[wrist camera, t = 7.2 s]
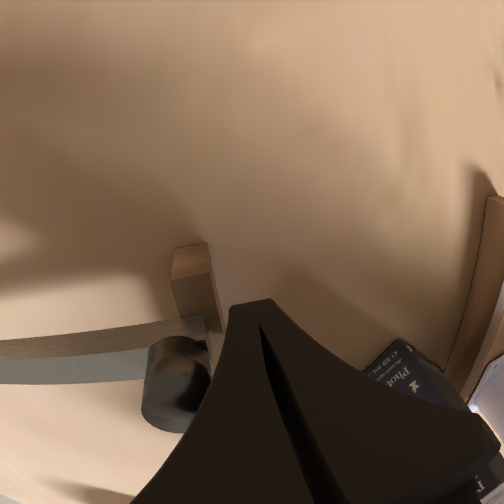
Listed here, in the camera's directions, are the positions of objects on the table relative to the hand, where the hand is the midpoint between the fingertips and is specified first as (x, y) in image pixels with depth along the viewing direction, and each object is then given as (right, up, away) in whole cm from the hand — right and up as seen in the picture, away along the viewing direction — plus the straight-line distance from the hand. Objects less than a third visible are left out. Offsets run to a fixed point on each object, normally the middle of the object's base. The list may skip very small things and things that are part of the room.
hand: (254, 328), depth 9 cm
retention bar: (-6, -1, 0) cm, 6 cm away
